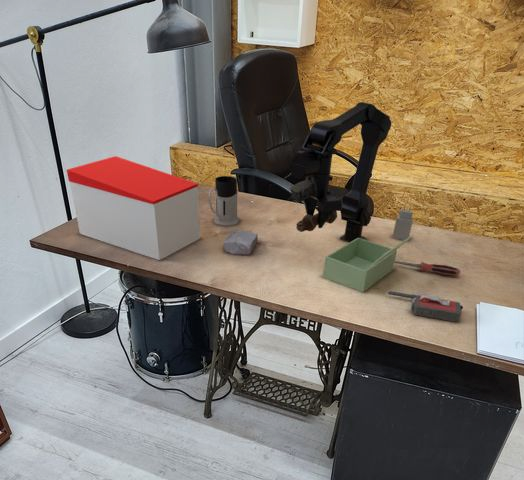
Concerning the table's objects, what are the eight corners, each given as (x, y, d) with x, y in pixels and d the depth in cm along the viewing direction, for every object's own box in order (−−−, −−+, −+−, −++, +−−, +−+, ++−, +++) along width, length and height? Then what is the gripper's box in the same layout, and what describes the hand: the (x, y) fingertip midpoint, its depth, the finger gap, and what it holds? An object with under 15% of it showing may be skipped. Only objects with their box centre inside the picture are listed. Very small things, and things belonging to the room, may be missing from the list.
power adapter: (394, 234, 169) (401, 201, 162) (409, 238, 167) (417, 204, 160) (391, 237, 166) (398, 203, 159) (407, 241, 165) (415, 207, 157)
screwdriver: (376, 265, 148) (378, 256, 146) (377, 261, 150) (379, 252, 149) (458, 279, 143) (461, 270, 141) (458, 275, 145) (461, 266, 143)
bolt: (296, 238, 142) (327, 224, 151) (308, 235, 138) (339, 220, 147) (290, 219, 141) (321, 206, 149) (302, 215, 137) (333, 202, 145)
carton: (354, 256, 153) (357, 237, 149) (392, 269, 146) (397, 250, 142) (322, 276, 140) (325, 256, 137) (362, 292, 134) (366, 271, 130)
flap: (413, 234, 137) (414, 235, 137) (397, 247, 142) (398, 248, 142) (383, 254, 125) (384, 255, 125) (366, 268, 130) (367, 269, 130)
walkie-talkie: (460, 307, 129) (386, 294, 133) (465, 293, 126) (389, 280, 131) (462, 324, 122) (384, 310, 126) (467, 309, 120) (387, 295, 124)
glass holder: (243, 220, 174) (243, 178, 165) (220, 232, 164) (219, 188, 155) (223, 214, 178) (223, 174, 169) (200, 226, 168) (198, 183, 159)
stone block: (222, 257, 152) (252, 255, 150) (219, 243, 150) (249, 241, 147) (231, 244, 162) (260, 242, 159) (229, 230, 159) (257, 228, 157)
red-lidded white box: (123, 215, 173) (115, 156, 161) (200, 238, 159) (197, 175, 147) (78, 233, 159) (66, 169, 146) (159, 260, 145) (152, 192, 133)
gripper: (280, 165, 139) (277, 216, 149) (311, 184, 126) (306, 239, 135) (313, 162, 143) (308, 212, 153) (347, 180, 130) (339, 234, 139)
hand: (314, 224), depth 145 cm, fingers closed on bolt, 6 cm apart
